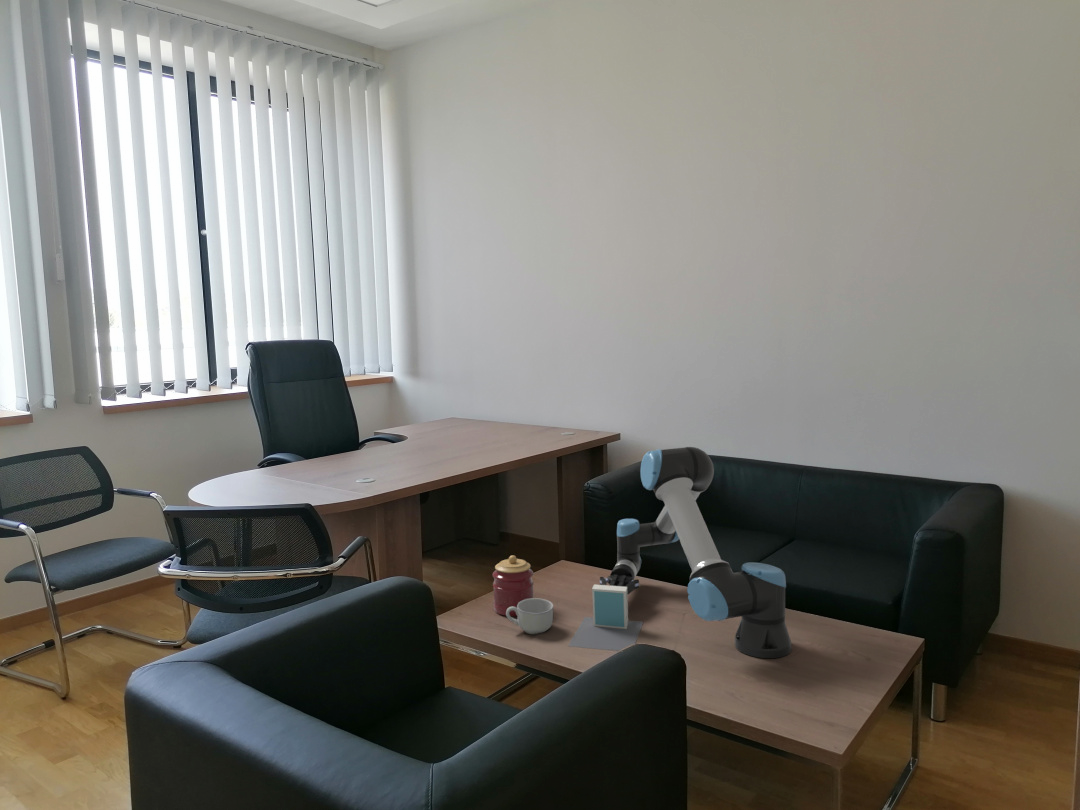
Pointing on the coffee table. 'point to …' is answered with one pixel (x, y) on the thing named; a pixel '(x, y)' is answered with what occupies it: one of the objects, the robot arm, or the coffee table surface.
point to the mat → (605, 636)
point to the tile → (610, 606)
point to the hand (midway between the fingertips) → (609, 600)
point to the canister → (511, 584)
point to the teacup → (533, 615)
